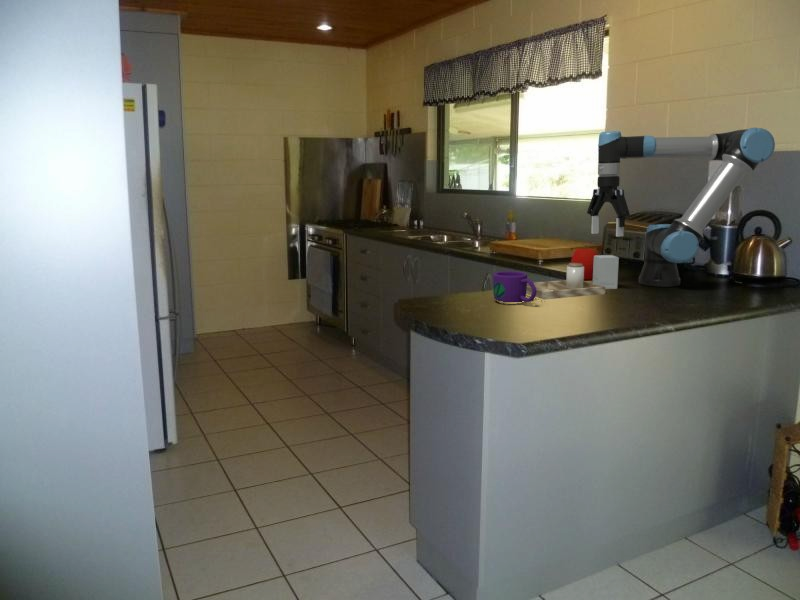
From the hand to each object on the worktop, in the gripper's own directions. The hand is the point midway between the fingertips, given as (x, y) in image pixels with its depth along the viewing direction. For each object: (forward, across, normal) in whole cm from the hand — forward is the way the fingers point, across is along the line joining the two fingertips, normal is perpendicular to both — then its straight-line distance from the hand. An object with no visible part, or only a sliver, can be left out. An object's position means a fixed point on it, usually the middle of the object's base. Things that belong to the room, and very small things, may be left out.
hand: (607, 235), depth 235 cm
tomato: (+21, -20, +6) cm, 30 cm away
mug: (+20, +7, -43) cm, 48 cm away
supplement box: (+21, -1, +1) cm, 21 cm away
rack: (+20, +1, -20) cm, 29 cm away
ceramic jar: (+19, +1, -14) cm, 24 cm away
